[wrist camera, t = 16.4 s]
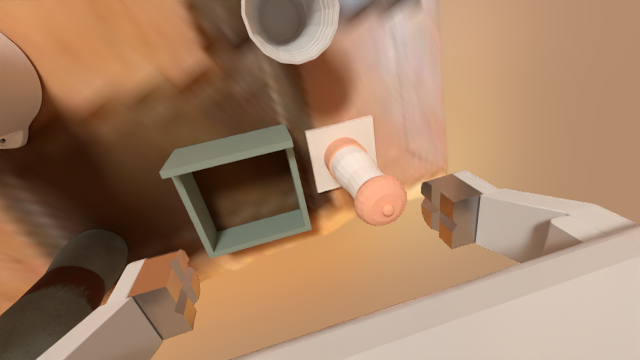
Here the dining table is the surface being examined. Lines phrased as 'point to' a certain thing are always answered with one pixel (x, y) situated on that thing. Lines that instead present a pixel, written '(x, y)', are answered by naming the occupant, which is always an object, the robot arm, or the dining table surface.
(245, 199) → the dining table surface
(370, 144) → the ceramic tile
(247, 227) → the grey open box
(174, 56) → the dining table surface
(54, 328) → the bottle
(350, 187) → the pepper shaker
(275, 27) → the plastic cup
